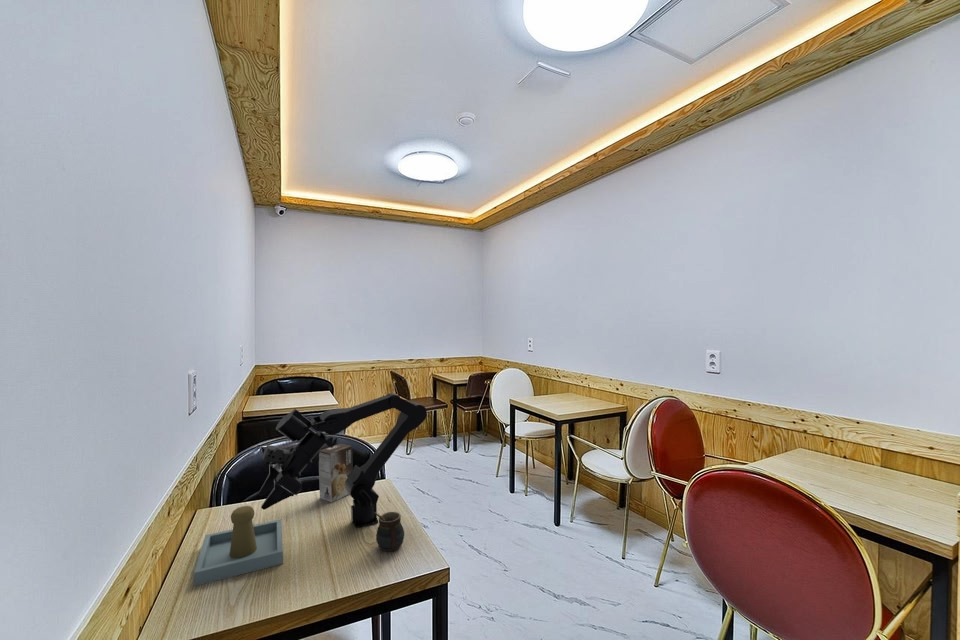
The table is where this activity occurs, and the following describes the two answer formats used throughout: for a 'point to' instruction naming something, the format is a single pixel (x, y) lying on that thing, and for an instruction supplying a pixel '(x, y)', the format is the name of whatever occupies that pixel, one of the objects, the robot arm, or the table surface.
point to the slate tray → (220, 565)
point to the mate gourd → (389, 531)
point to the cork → (242, 533)
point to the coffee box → (334, 471)
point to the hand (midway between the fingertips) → (260, 501)
